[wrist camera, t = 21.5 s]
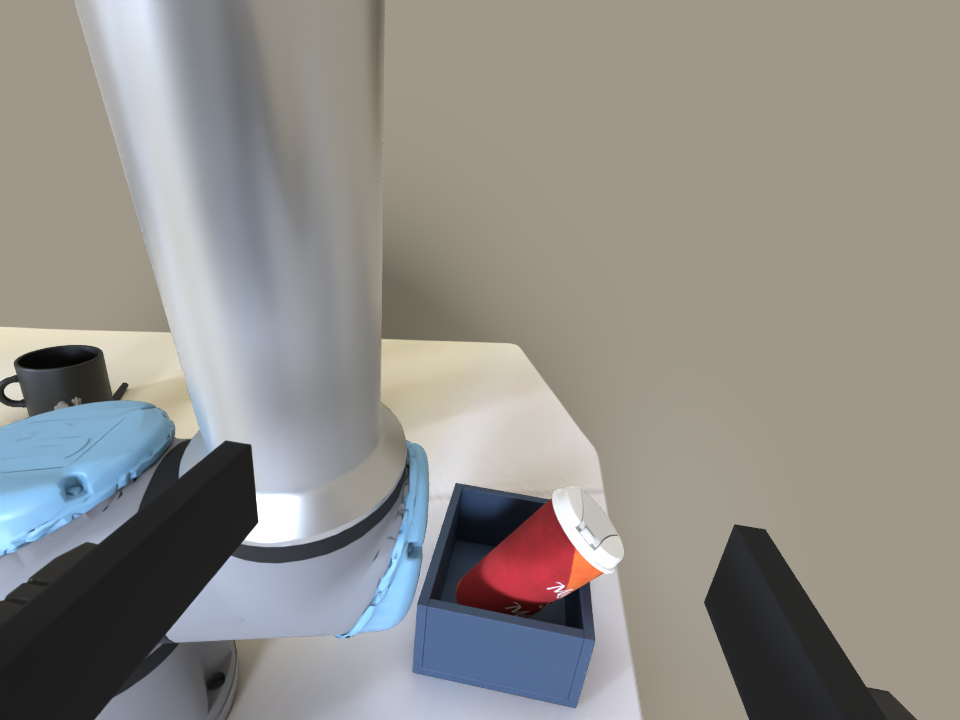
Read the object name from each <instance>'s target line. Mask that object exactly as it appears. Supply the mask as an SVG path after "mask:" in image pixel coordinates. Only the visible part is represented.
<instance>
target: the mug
mask: <svg viewBox="0 0 960 720" xmlns="http://www.w3.org/2000/svg"><path fill="white" fill-rule="evenodd" d="M14 367H15V370H16V373H17V375H14V376H12V377H8V378H6V379H4V380H2V381H1V382H0V402H1V403H3V404H5V405H7V406H11V407H23V408H24V407H27V410H28V414H29V417H32V416H36V415H39V414H42V413H46V412H50V411H54V410H55V409H54V407H55V406H57V405H58V403H59V402H61V401H64V402H65V403H66V404H68V406H69V407H72V406H74V405H73V404H72V399H75V397H77V398H81V401H82V402H81V405H82V404H88V403H95V402H104V401H113V396H112V392H111V387H110V383H109V378H108V373H107V369H106V364H105V360H104V355H103V352H102V350H101V349H99V348H97V347H93V346H87V345H65V346H56V347H49V348H44V349H40V350H36V351H32V352H29V353H27V354H24V355H22V356H20V357H18V358H17V359H16V360H15V362H14ZM13 382H15V383H16V382H19V384H20V387H21V390H22V394H23V397H24V399H22V400H21V401H16V400H11V399H9V398H7V397H6V396H5V394H4V389H5V387H6V386H7V385H8V384H10V383H13Z"/></svg>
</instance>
